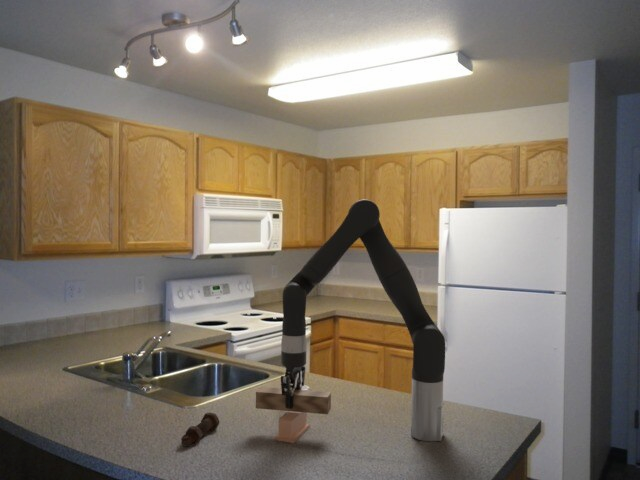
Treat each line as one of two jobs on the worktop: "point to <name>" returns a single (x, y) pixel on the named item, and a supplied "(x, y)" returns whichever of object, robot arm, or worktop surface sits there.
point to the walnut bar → (294, 400)
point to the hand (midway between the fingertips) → (293, 404)
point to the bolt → (200, 429)
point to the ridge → (292, 426)
